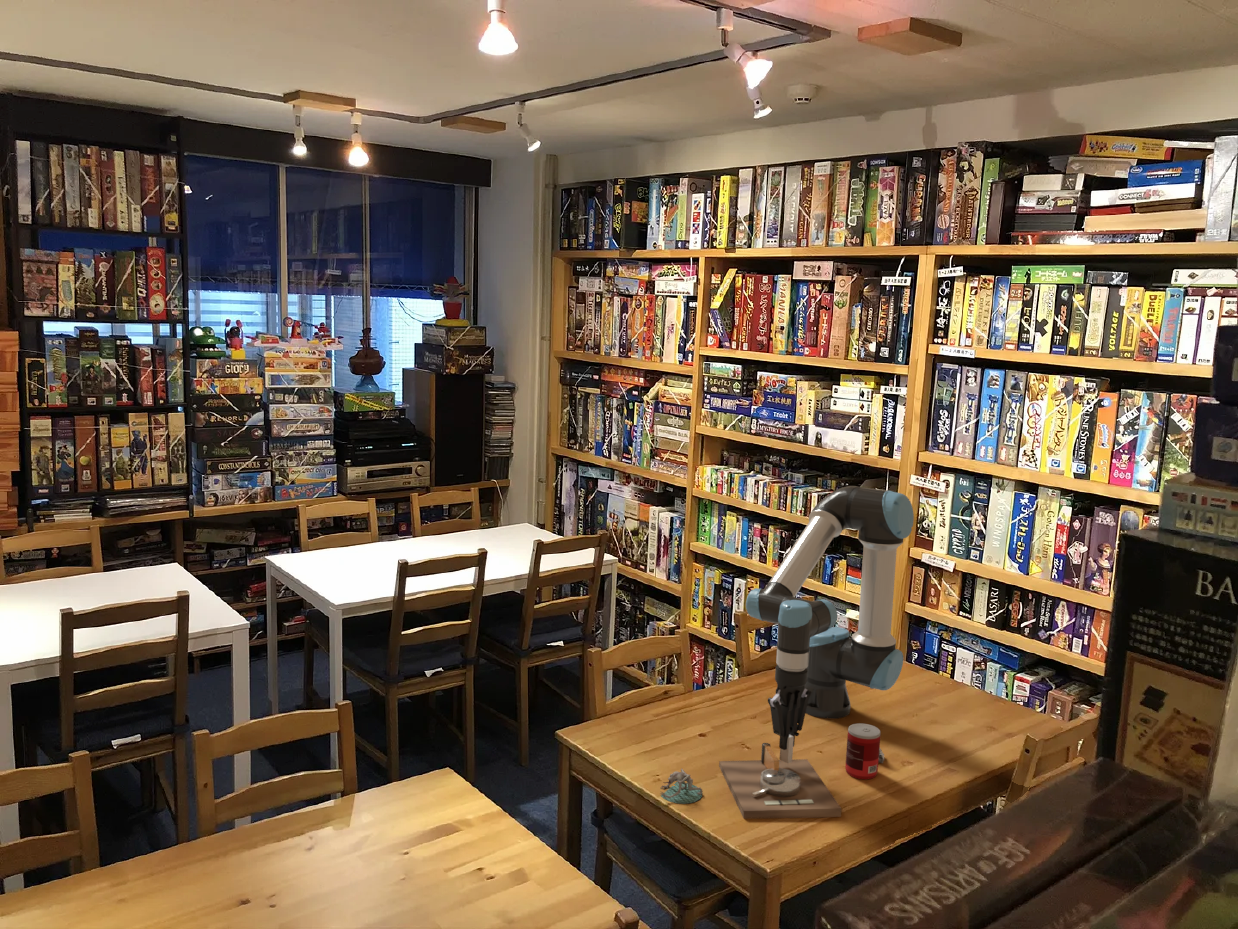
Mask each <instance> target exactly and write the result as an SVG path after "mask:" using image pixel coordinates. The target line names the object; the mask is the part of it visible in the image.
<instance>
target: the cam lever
mask: <svg viewBox="0 0 1238 929" xmlns="http://www.w3.org/2000/svg"><path fill="white" fill-rule="evenodd" d="M760 758H761V759H760V760H761V762H762V763H764V765H765V766H766V768H767V769H766V770H764V771H763V772H762V773H761V779H760V787H761V789H762V790H760V791H757V792H754V793H752V795H753V796H754V797H755V796H758V795H761V794H763V793H768V794H770V795H774V796H779V797H790V796H794V795H796V794H798V793H799V791H800V780H801V779H800V776H799V775H798V774H796V773H795V772H793V771H790V770H787V769H782V768H779V760H780V759H778V757H777V756H776V754H775V752H774V751H773V748H772V747H771V743H768V742H763V743H762V744H761V757H760Z"/></svg>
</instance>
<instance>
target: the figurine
mask: <svg viewBox="0 0 1238 929" xmlns="http://www.w3.org/2000/svg"><path fill="white" fill-rule="evenodd" d="M667 780H668V781H666V782H662V783H664V784H666V785H662V786H661V787H660V790H665V789H666V791H664V792H663V791H660V792H659V794H660V797H661V798H663V800H665V801H668V802H669V803H673V804H679V805H690V804H694V803H698V802H699V801H701V800H702V798H703V797H704V795H703V791H704V790H703V789H702V788H701V786H700V787H698V786H697V785H694V784H693V782H694V779H693V778H691V774H688V773H686V772H685V771H684V769H683V768H681V769H680V771H673V772H672V773H670V775H669V777H668V778H667ZM673 783H674V784H673ZM671 785H672V786H671ZM673 785H675V786H673Z"/></svg>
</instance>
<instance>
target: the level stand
mask: <svg viewBox="0 0 1238 929" xmlns="http://www.w3.org/2000/svg"><path fill="white" fill-rule="evenodd" d="M778 760H779V768H782V769H787V770H790V771H793V772H795V773H796V774H798V775H799V776H800V779H801V780H800V791H799V793H798V794H796V795H794V796H790V797H779V796H774V795H770V794H768V793H763V794H761V795H758V796H755V797H754V796H753V795H752V793H754V792H757V791H760V790H762V789H761V787H760V779H761V773H762V772H763V771H764V770H766V769H767V768H766V766H765V765H764V763H762V762H761V759H759V760H758V759H757V760H756V759H755V760H754V759H753V760H720V761H718V762H719V763H718V764H719V765H718V767H719V769H720V772H721V774H722V776H723V778H724V780H725V782H726V785H727V786H728V788H729V791H730V792H731V794H732V798H733V799H734V801H735V803H736V804H735V805H737V808H738V810H739V812H740V814H741V816H742V819H746V820H747V819H801V818H803V819H810V818H812V819H813V818H841V817H842V807H841V806H840V804H839V803H838V801H837V800H836V798H835V797H834V796H833V794H832V793H831V791H830V790H829V788H828V787H827V786H826V784H825V783H824V781H823V780H822V778H821V777H820V776H819V774H818V772H817V771H816V770H815V768H814V767H813V765H812V764H811V763H810V761H809V760H808V759H807V758H806V759H805V758H804V759H803V758H802V759H792V762H791V763H786V762H784V761H782V760H780V759H778Z"/></svg>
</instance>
